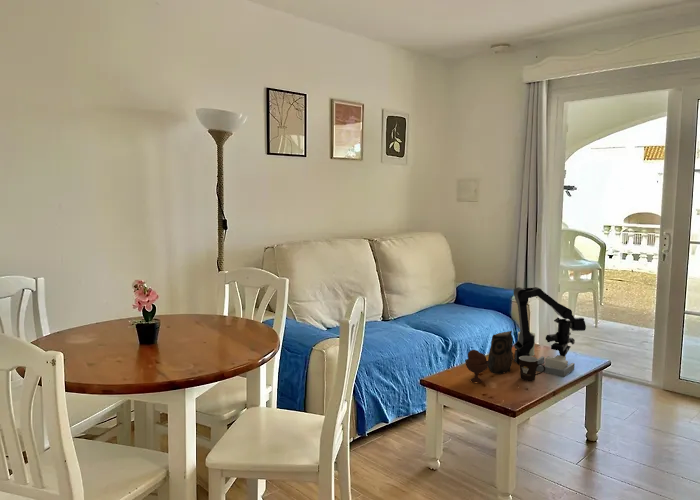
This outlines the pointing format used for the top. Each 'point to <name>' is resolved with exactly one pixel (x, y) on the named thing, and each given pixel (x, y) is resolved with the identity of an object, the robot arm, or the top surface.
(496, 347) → the owl
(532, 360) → the coffee mug
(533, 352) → the can
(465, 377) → the top surface
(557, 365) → the t block
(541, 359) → the bay
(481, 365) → the ice cream bowl
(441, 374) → the top surface
